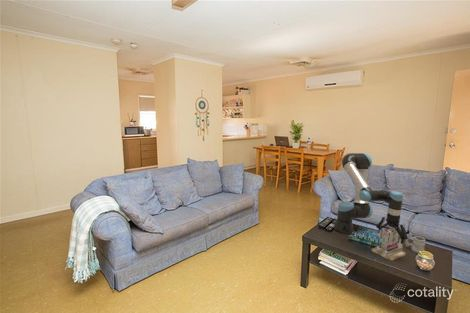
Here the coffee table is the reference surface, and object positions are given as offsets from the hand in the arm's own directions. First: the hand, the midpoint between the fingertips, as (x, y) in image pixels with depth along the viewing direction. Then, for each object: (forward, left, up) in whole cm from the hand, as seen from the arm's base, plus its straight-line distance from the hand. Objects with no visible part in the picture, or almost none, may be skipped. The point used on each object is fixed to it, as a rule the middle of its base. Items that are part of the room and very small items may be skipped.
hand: (389, 242), depth 171 cm
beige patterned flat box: (0, 0, -8) cm, 8 cm away
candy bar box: (0, 0, -6) cm, 6 cm away
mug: (+6, +21, -8) cm, 23 cm away
